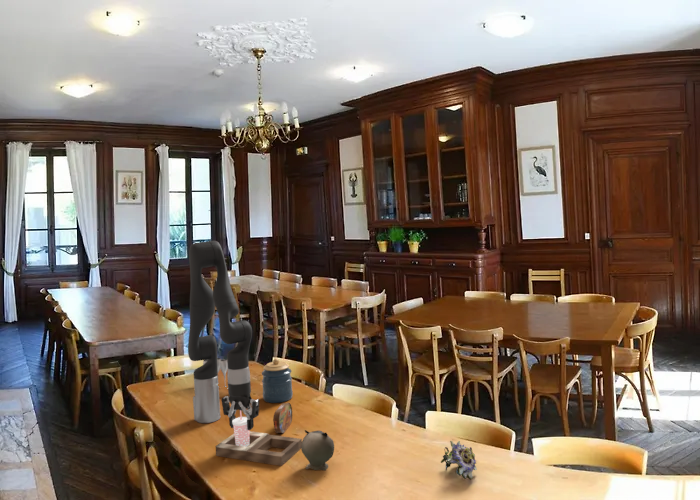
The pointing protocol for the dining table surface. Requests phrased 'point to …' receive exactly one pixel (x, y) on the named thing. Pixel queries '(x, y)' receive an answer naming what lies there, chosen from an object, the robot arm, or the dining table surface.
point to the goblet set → (220, 366)
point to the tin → (282, 418)
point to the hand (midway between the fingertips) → (241, 428)
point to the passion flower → (460, 459)
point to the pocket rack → (260, 448)
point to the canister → (277, 382)
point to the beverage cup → (241, 431)
